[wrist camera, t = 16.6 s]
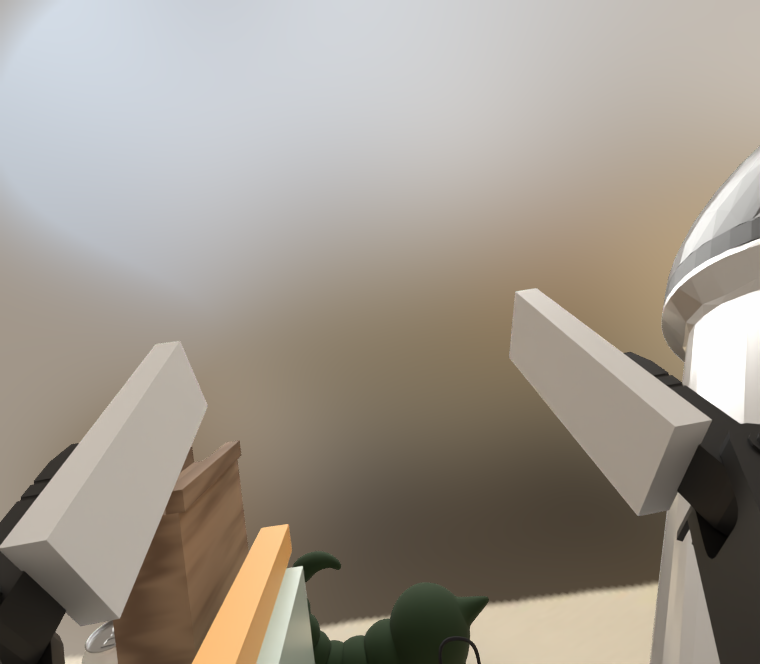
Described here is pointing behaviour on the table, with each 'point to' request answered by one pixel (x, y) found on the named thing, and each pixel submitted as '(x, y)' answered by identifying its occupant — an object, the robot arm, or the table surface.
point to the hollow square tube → (249, 602)
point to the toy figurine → (400, 625)
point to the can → (101, 646)
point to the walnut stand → (187, 564)
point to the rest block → (289, 624)
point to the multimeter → (457, 638)
